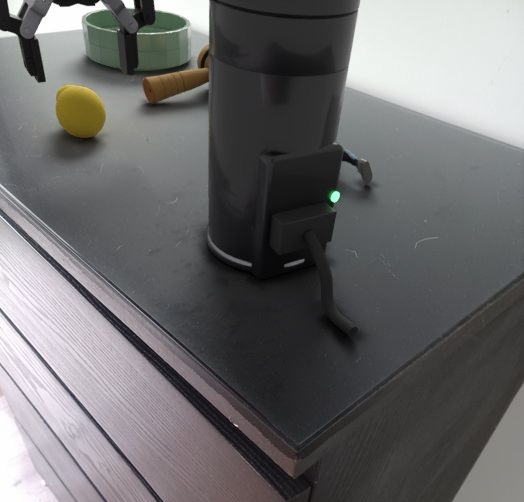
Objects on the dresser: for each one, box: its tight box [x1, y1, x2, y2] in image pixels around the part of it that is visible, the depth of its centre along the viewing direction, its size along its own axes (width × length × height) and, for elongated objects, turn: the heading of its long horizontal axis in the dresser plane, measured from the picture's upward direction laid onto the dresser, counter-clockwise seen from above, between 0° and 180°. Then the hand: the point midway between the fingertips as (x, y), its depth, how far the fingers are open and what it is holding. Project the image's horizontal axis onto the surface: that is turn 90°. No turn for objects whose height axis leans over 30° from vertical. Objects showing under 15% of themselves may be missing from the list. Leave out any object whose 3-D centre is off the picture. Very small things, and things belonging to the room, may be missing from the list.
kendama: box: [142, 43, 209, 105], centre depth 68 cm, size 8×6×18 cm
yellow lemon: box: [55, 84, 107, 139], centre depth 57 cm, size 7×5×7 cm
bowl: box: [81, 7, 192, 72], centre depth 78 cm, size 15×15×5 cm
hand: (85, 76), depth 52 cm, fingers open, 8 cm apart
